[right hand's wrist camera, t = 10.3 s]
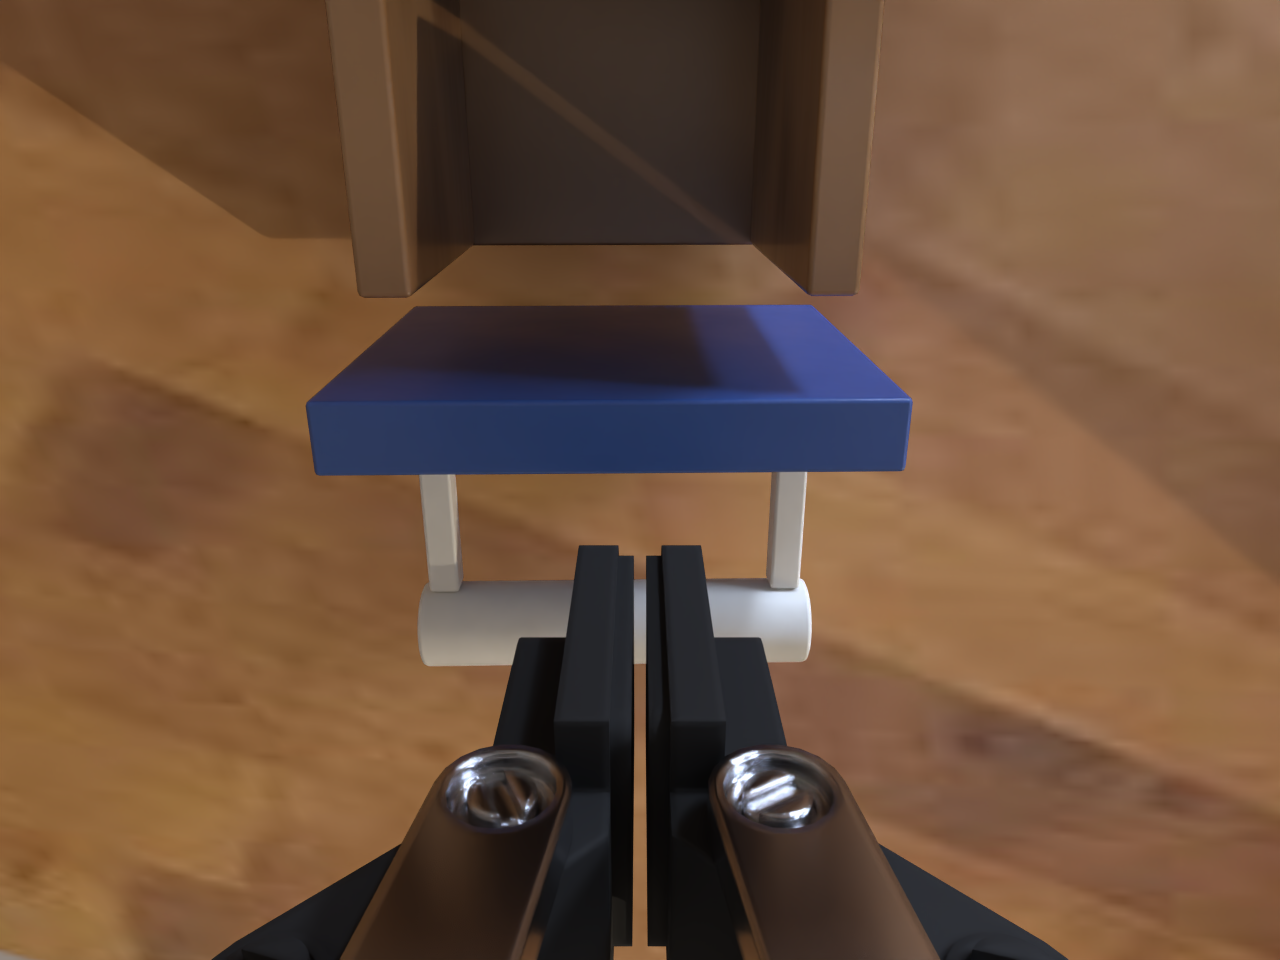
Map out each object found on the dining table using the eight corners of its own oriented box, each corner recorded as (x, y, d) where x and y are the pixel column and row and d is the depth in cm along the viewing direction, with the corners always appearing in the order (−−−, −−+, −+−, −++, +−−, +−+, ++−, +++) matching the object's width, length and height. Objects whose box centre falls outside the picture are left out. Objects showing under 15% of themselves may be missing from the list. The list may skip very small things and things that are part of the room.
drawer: (795, 560, 23) (873, 755, 16) (436, 563, 23) (353, 763, 16) (872, -568, 16) (1092, -1171, 8) (333, -575, 15) (80, -1198, 8)
